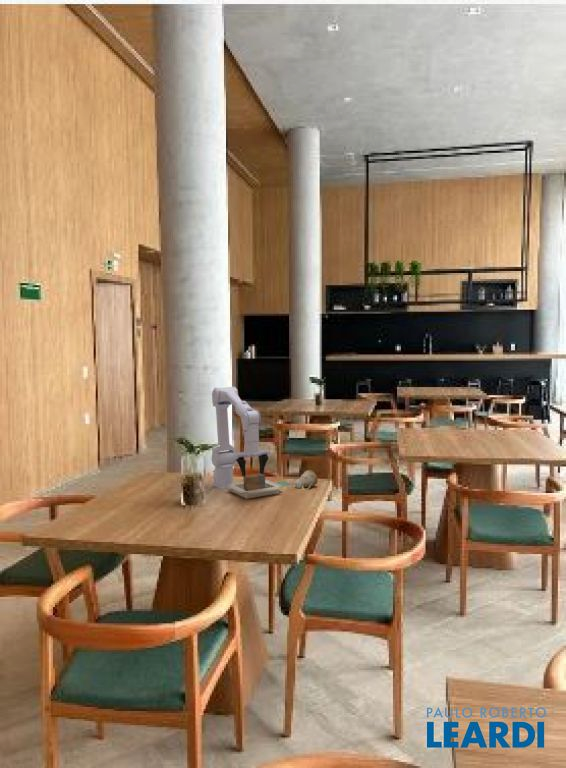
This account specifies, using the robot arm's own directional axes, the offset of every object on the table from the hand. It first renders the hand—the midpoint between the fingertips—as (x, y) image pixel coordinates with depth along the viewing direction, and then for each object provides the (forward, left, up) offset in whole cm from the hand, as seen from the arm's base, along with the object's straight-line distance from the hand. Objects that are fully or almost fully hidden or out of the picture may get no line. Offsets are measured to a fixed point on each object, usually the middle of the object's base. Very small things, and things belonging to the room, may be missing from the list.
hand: (252, 474), depth 240 cm
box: (-9, +5, -10) cm, 14 cm away
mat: (-15, +21, -10) cm, 28 cm away
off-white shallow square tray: (-9, +5, -10) cm, 15 cm away
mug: (-5, +28, -10) cm, 30 cm away
